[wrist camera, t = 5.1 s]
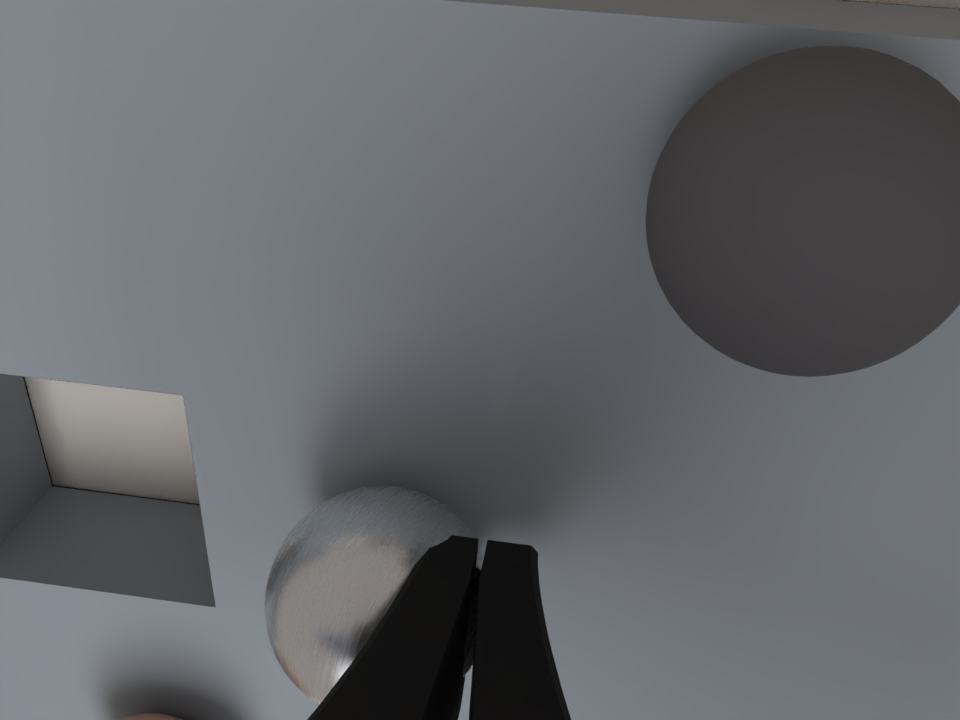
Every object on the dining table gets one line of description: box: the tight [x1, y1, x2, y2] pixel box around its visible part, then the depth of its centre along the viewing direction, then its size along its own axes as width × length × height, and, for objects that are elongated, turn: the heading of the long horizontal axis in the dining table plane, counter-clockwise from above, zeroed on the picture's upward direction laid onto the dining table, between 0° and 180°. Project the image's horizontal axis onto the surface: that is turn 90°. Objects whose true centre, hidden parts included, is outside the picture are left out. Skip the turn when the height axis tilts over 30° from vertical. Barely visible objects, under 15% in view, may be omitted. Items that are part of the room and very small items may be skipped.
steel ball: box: [264, 486, 484, 705], centre depth 12 cm, size 3×3×3 cm
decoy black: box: [645, 46, 960, 377], centre depth 8 cm, size 3×3×3 cm
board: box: [0, 0, 960, 720], centre depth 14 cm, size 16×22×4 cm
